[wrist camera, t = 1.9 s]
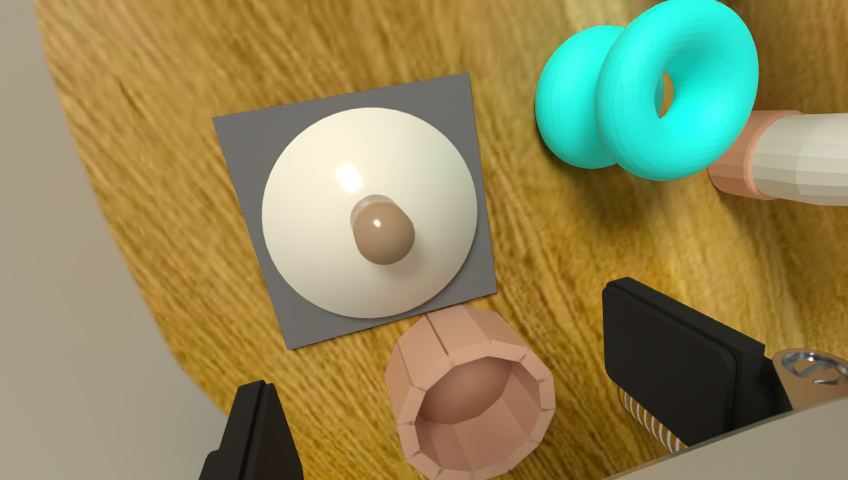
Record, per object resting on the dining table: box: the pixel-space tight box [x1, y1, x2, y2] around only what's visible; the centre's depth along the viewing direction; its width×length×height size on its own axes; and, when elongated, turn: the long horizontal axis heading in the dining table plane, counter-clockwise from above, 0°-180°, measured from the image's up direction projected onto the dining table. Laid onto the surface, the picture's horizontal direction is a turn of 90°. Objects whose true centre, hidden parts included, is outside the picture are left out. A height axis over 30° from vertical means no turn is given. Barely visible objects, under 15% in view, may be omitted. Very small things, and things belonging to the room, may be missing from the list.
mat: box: [212, 73, 497, 350], centre depth 30 cm, size 17×17×1 cm
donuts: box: [535, 0, 759, 181], centre depth 27 cm, size 10×10×10 cm
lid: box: [262, 108, 477, 318], centre depth 27 cm, size 15×15×5 cm
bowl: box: [385, 304, 556, 480], centre depth 33 cm, size 12×12×6 cm
